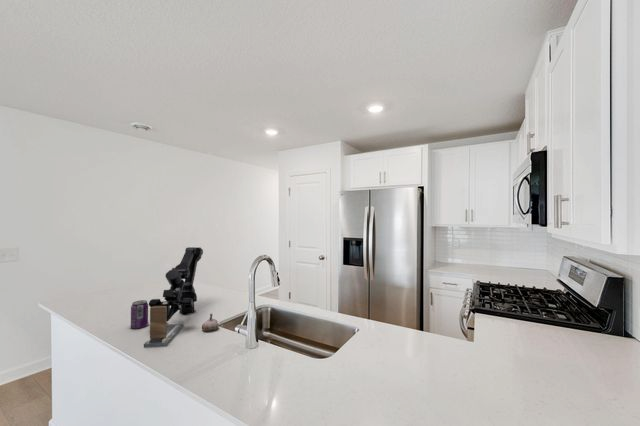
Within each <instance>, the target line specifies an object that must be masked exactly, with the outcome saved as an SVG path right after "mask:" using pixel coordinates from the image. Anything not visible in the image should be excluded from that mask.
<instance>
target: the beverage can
mask: <svg viewBox="0 0 640 426" xmlns="http://www.w3.org/2000/svg"><path fill="white" fill-rule="evenodd" d="M148 325H149V302H148V300H145V299H144V300H143V299H141V300H135V301H133V302H132V303H131V306H130V328H132V329H142V328H145V327H146V326H148Z"/></svg>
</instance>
